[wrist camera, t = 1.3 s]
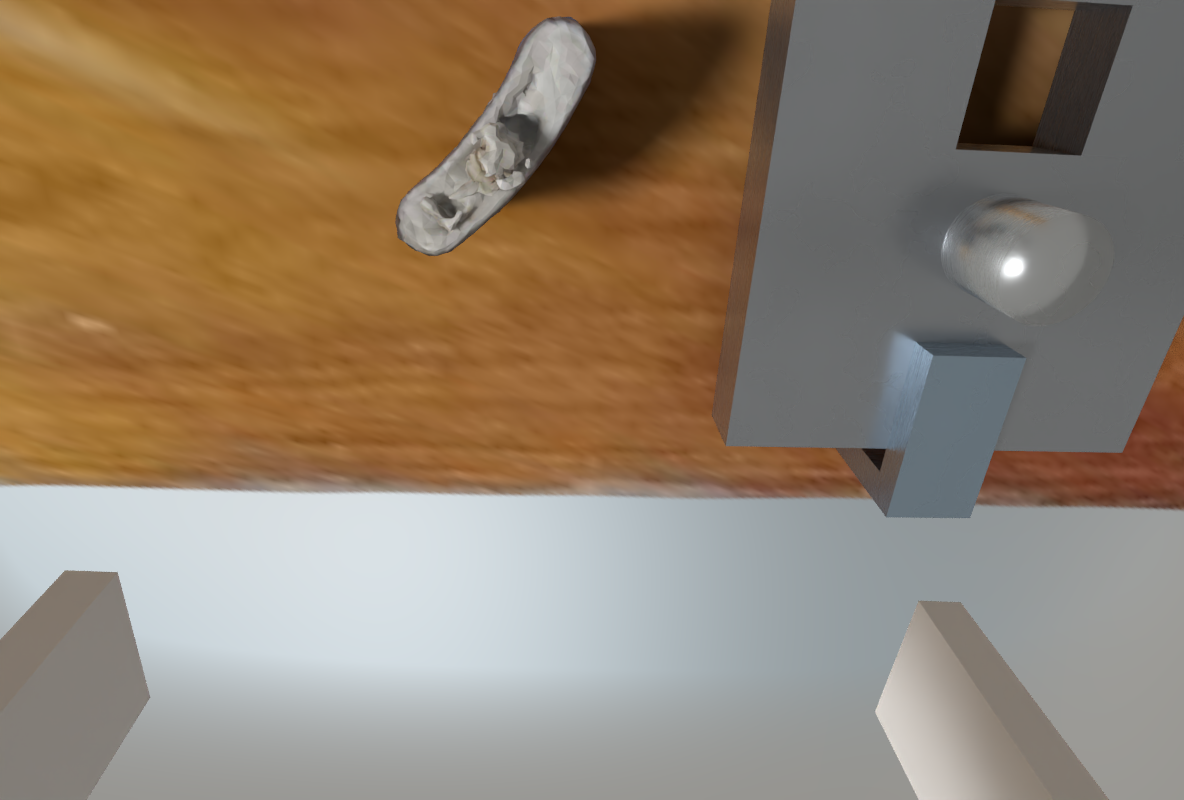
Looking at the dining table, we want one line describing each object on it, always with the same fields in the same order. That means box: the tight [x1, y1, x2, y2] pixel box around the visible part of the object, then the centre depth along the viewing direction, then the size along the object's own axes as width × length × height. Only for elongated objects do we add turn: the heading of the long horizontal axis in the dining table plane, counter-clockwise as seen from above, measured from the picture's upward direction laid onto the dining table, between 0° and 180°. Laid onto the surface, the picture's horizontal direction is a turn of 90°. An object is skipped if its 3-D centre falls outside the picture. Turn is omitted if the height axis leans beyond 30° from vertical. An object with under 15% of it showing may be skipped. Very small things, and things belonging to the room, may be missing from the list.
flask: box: [396, 17, 596, 256], centre depth 26 cm, size 9×3×11 cm, turn 138°
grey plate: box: [712, 0, 1184, 518], centre depth 29 cm, size 22×19×10 cm
